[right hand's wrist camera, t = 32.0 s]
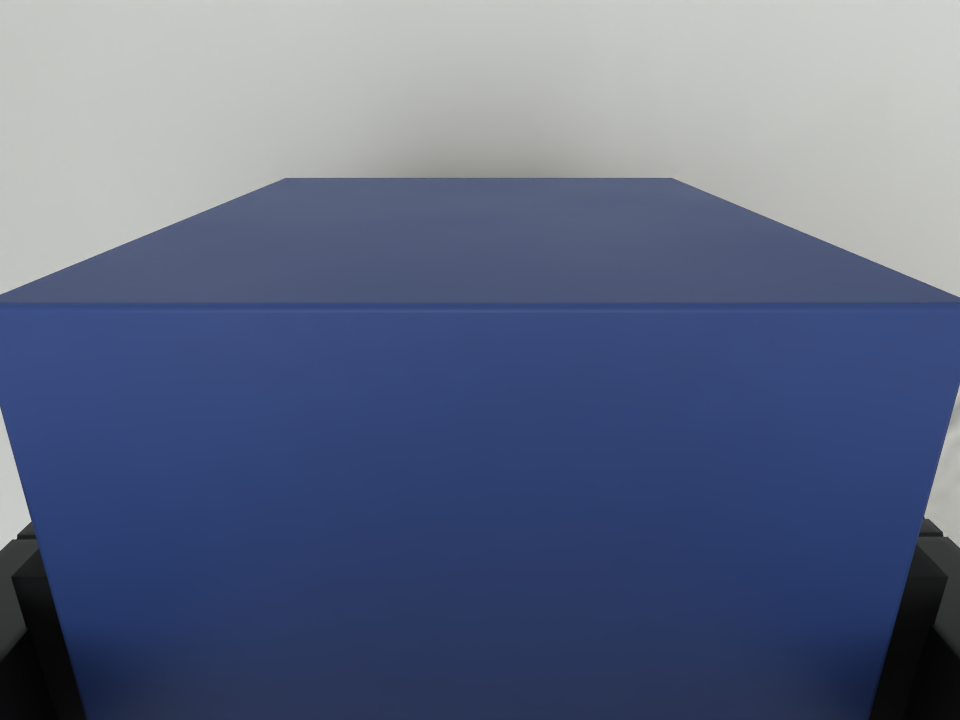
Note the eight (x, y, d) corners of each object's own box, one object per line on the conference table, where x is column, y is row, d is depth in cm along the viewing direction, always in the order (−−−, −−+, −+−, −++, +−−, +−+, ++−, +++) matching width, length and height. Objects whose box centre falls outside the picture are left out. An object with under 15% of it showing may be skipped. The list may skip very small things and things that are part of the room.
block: (674, 177, 15) (985, 304, 6) (640, 526, 18) (804, 966, 9) (283, 177, 15) (-33, 304, 6) (318, 526, 18) (150, 965, 9)
